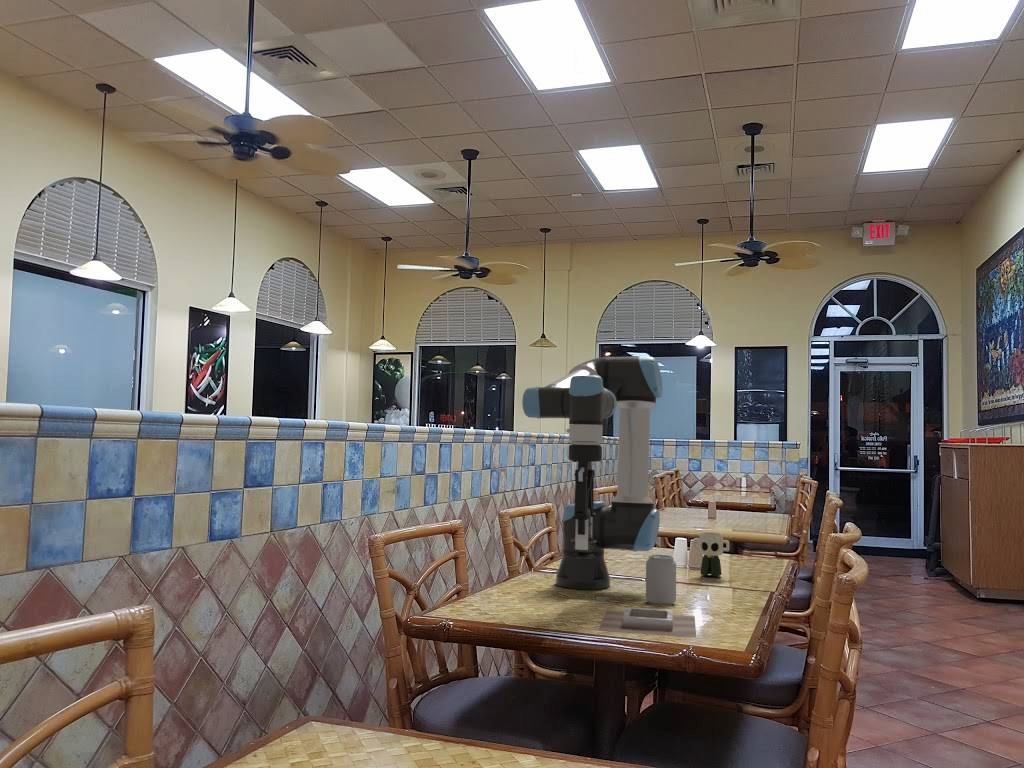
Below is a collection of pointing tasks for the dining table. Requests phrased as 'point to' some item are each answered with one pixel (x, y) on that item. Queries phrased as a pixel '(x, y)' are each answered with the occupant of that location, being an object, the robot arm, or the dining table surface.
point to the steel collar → (648, 618)
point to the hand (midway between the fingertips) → (583, 547)
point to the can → (661, 580)
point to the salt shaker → (591, 543)
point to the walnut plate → (680, 628)
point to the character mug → (711, 552)
